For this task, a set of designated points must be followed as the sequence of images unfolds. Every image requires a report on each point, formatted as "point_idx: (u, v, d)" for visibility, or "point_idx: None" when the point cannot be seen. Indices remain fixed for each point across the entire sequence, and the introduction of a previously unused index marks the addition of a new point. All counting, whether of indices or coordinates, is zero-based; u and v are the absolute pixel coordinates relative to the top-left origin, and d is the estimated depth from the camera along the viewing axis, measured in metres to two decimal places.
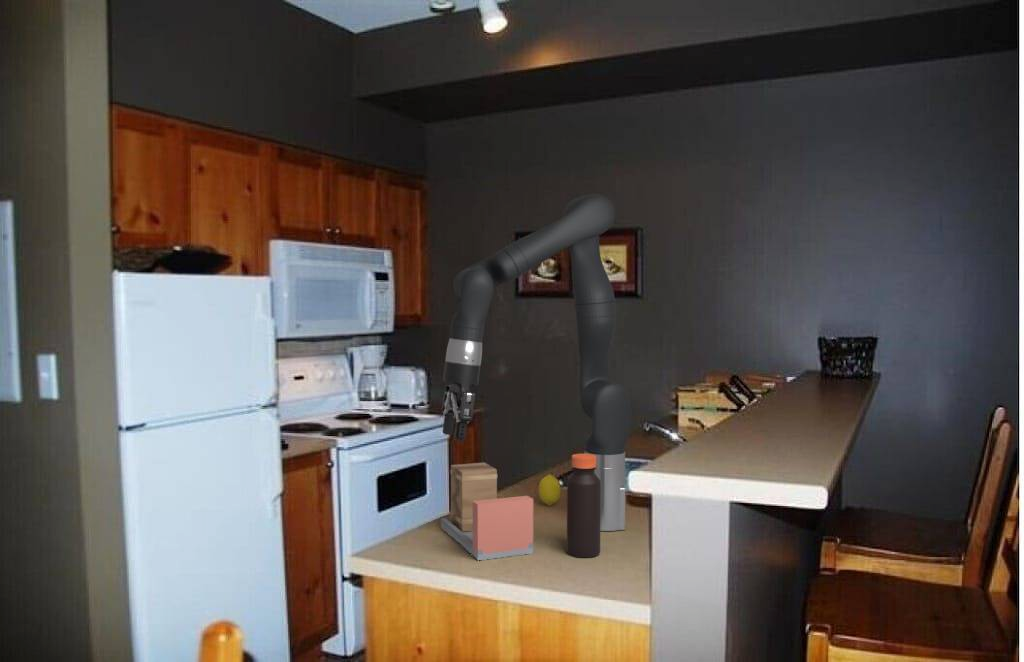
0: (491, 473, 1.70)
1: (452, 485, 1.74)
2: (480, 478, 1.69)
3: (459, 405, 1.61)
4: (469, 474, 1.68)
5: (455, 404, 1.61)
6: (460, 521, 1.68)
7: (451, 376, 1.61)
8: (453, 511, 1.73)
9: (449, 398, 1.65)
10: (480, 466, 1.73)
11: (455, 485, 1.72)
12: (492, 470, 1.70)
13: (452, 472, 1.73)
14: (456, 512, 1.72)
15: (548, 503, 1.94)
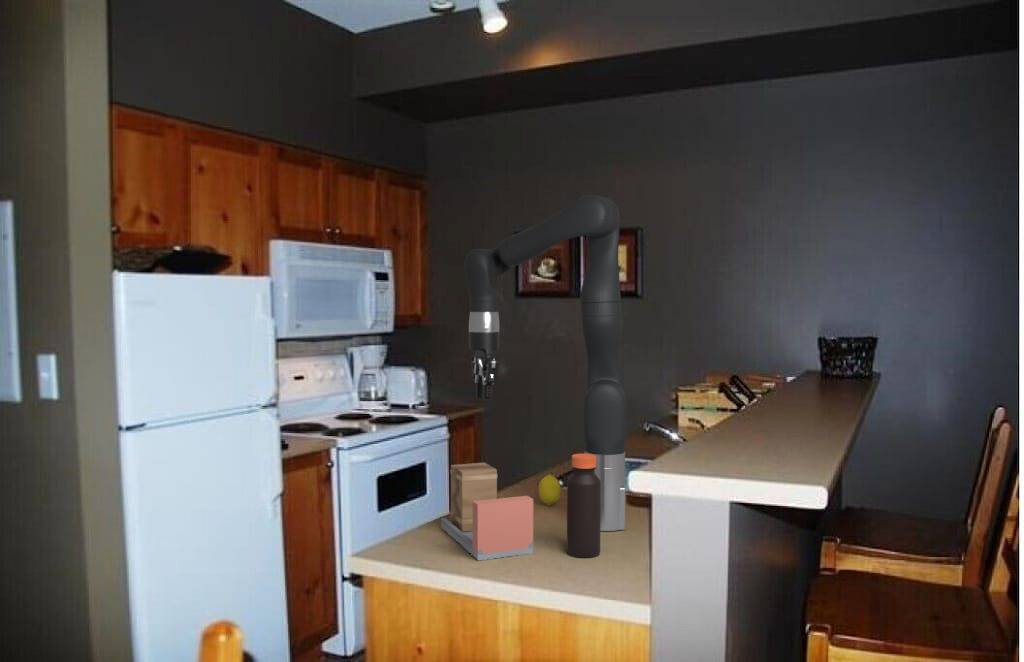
0: (491, 473, 1.70)
1: (452, 485, 1.74)
2: (480, 478, 1.69)
3: (486, 367, 1.89)
4: (469, 474, 1.68)
5: (481, 369, 1.89)
6: (460, 521, 1.68)
7: (476, 344, 1.88)
8: (453, 511, 1.73)
9: (476, 362, 1.92)
10: (480, 466, 1.73)
11: (455, 485, 1.72)
12: (492, 470, 1.70)
13: (452, 472, 1.73)
14: (456, 512, 1.72)
15: (548, 503, 1.94)
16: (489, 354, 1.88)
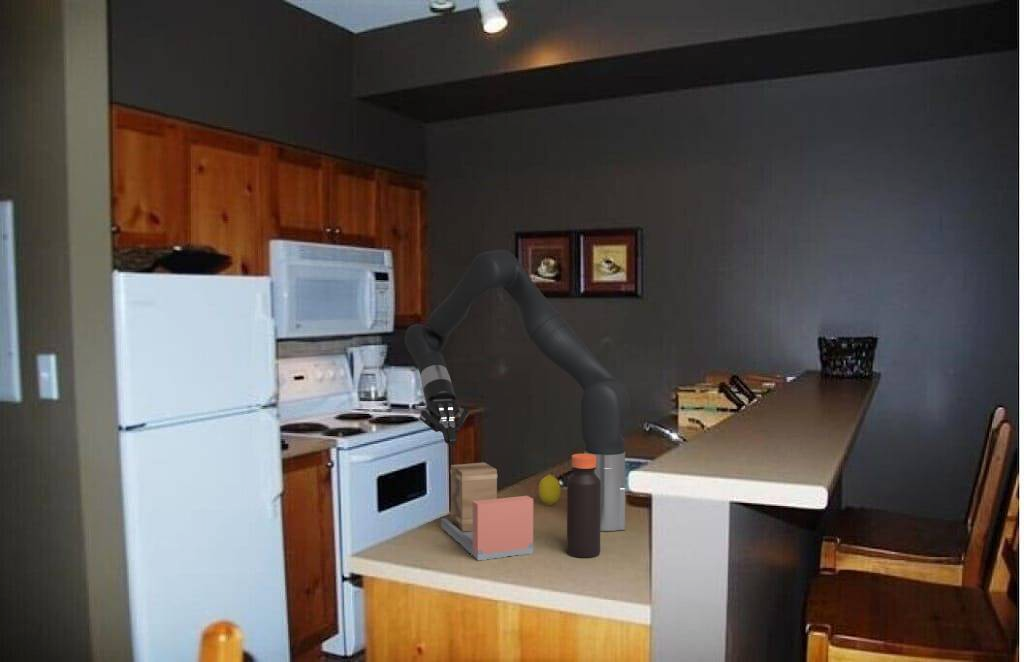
0: (491, 473, 1.70)
1: (452, 485, 1.74)
2: (480, 478, 1.69)
3: (433, 417, 1.90)
4: (469, 474, 1.68)
5: (437, 422, 1.91)
6: (460, 521, 1.68)
7: None
8: (453, 511, 1.73)
9: None
10: (480, 466, 1.73)
11: (455, 485, 1.72)
12: (492, 470, 1.70)
13: (452, 472, 1.73)
14: (456, 512, 1.72)
15: (548, 503, 1.94)
16: None
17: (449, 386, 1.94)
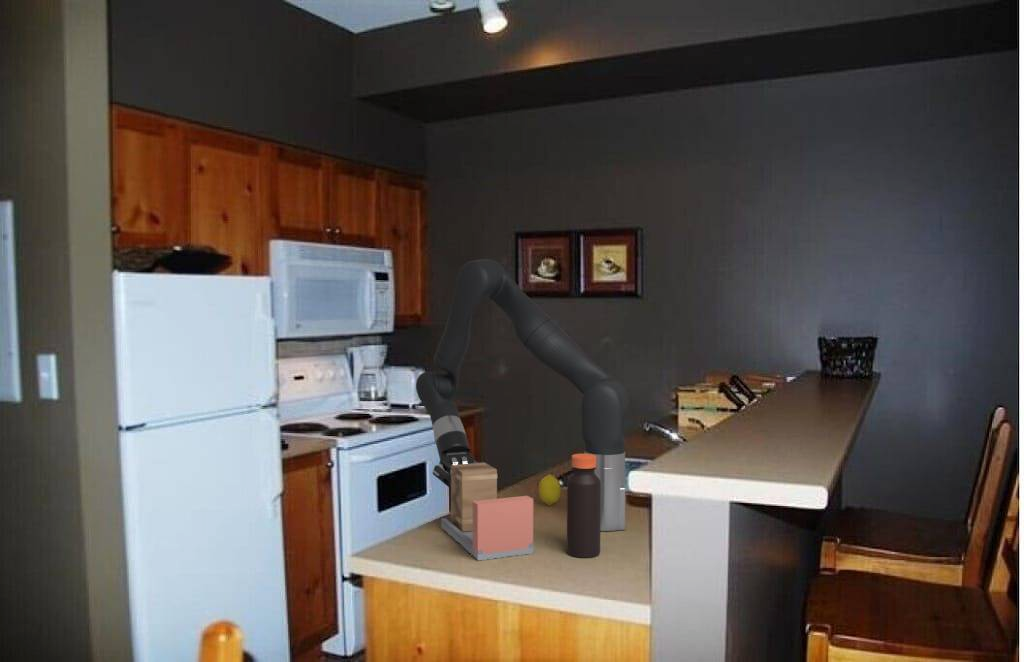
0: (491, 473, 1.70)
1: (452, 485, 1.74)
2: (480, 478, 1.69)
3: (447, 472, 1.81)
4: (469, 474, 1.68)
5: None
6: (460, 521, 1.68)
7: None
8: (453, 511, 1.73)
9: None
10: (480, 466, 1.73)
11: (455, 485, 1.72)
12: (492, 470, 1.70)
13: (452, 472, 1.73)
14: (456, 512, 1.72)
15: (548, 503, 1.94)
16: None
17: (463, 438, 1.85)
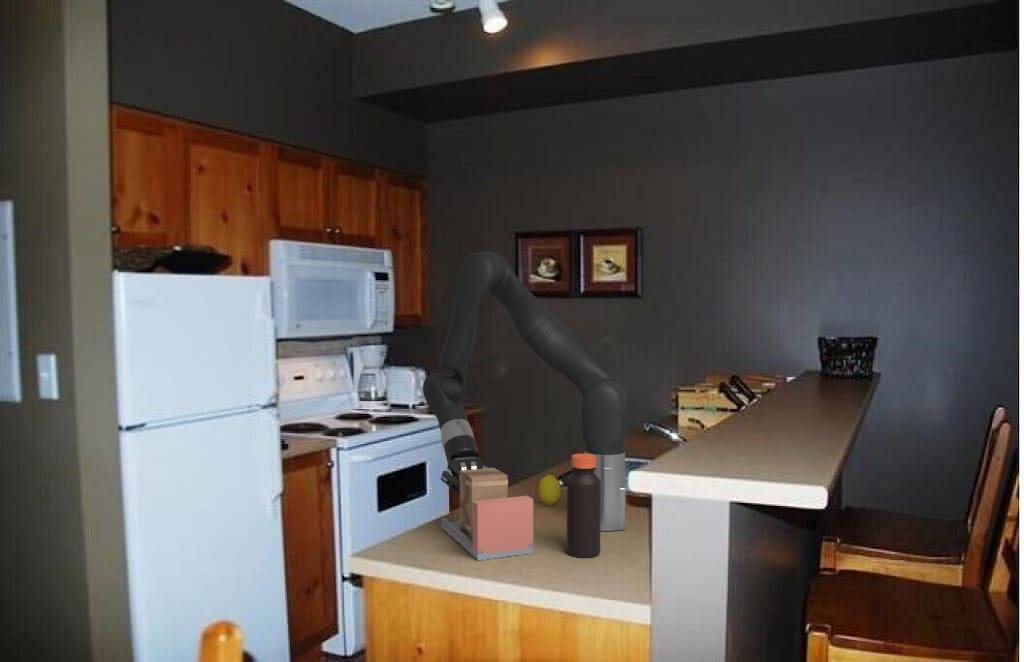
0: (502, 479, 1.64)
1: (461, 491, 1.68)
2: (490, 484, 1.63)
3: (456, 477, 1.76)
4: (479, 480, 1.62)
5: None
6: (470, 529, 1.63)
7: None
8: (462, 518, 1.67)
9: None
10: (490, 472, 1.67)
11: (464, 492, 1.66)
12: (503, 476, 1.64)
13: (461, 478, 1.67)
14: (465, 519, 1.66)
15: (548, 503, 1.94)
16: None
17: (472, 442, 1.79)
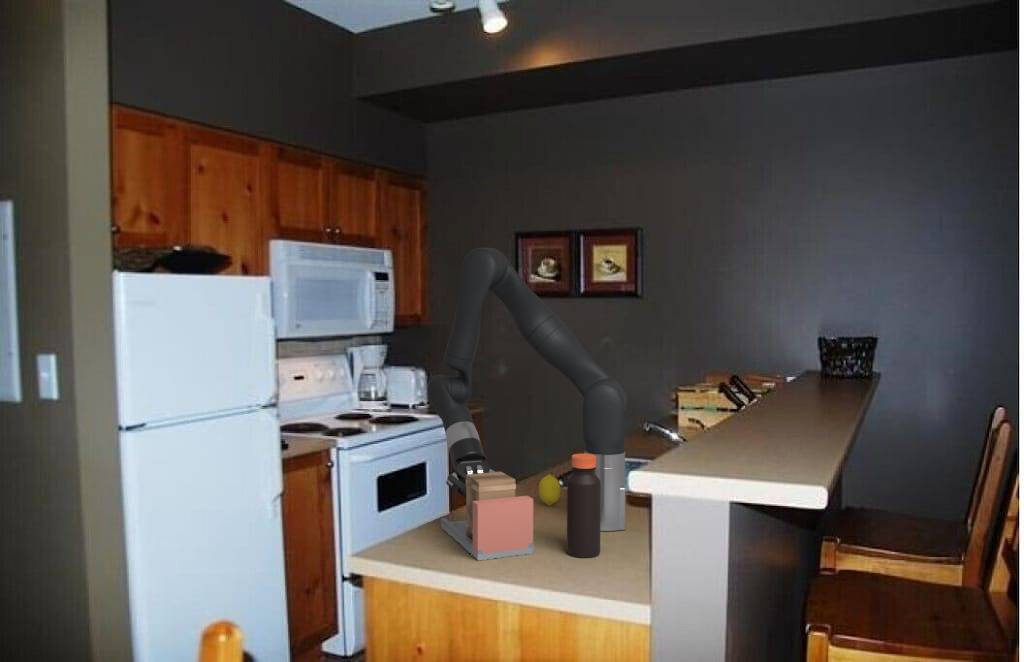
0: (509, 483, 1.60)
1: (467, 496, 1.64)
2: (498, 489, 1.59)
3: (462, 481, 1.72)
4: (486, 485, 1.58)
5: None
6: None
7: None
8: (469, 523, 1.63)
9: None
10: (497, 476, 1.63)
11: (471, 496, 1.62)
12: (510, 480, 1.60)
13: (468, 482, 1.63)
14: (472, 524, 1.62)
15: (548, 503, 1.94)
16: None
17: (478, 445, 1.75)
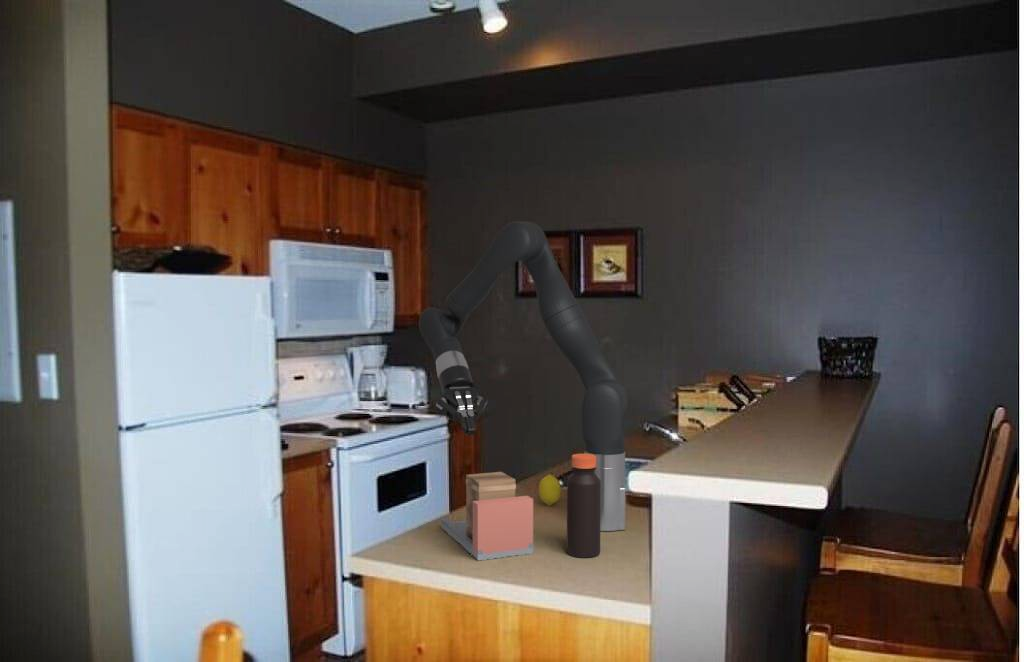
0: (509, 483, 1.60)
1: (467, 496, 1.64)
2: (498, 489, 1.59)
3: (451, 406, 1.79)
4: (486, 485, 1.58)
5: None
6: None
7: None
8: (469, 523, 1.63)
9: None
10: (497, 476, 1.63)
11: (471, 496, 1.62)
12: (510, 480, 1.60)
13: (468, 482, 1.63)
14: (472, 525, 1.62)
15: (548, 503, 1.94)
16: None
17: (466, 372, 1.82)
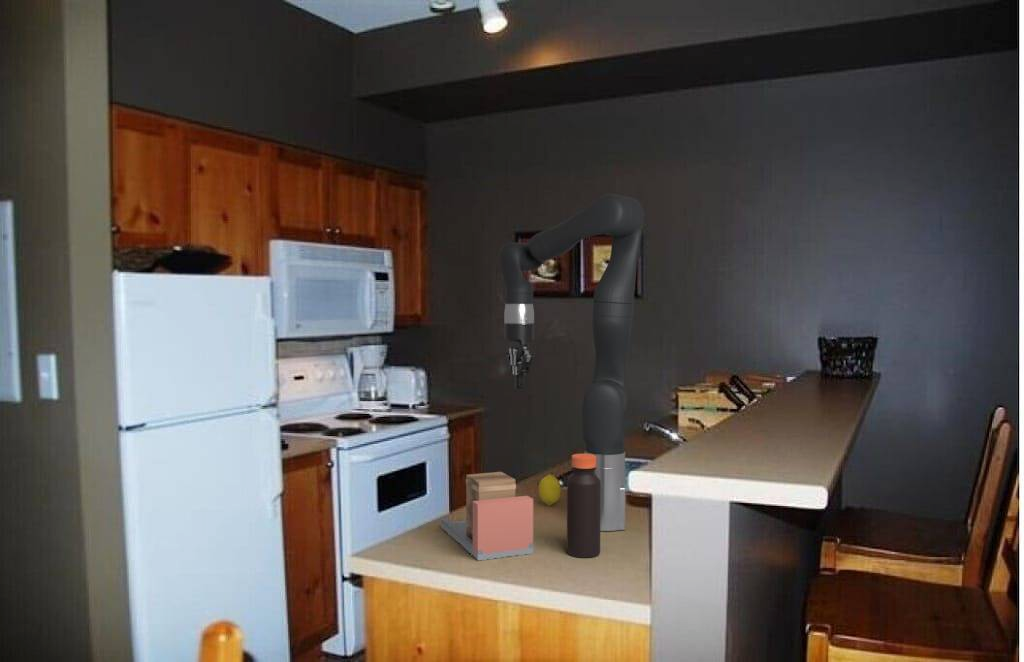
0: (509, 483, 1.60)
1: (467, 496, 1.64)
2: (498, 489, 1.59)
3: None
4: (486, 485, 1.58)
5: None
6: None
7: None
8: (469, 523, 1.63)
9: None
10: (497, 476, 1.63)
11: (471, 496, 1.62)
12: (510, 480, 1.60)
13: (468, 482, 1.63)
14: (472, 525, 1.62)
15: (548, 503, 1.94)
16: None
17: (510, 331, 1.93)
